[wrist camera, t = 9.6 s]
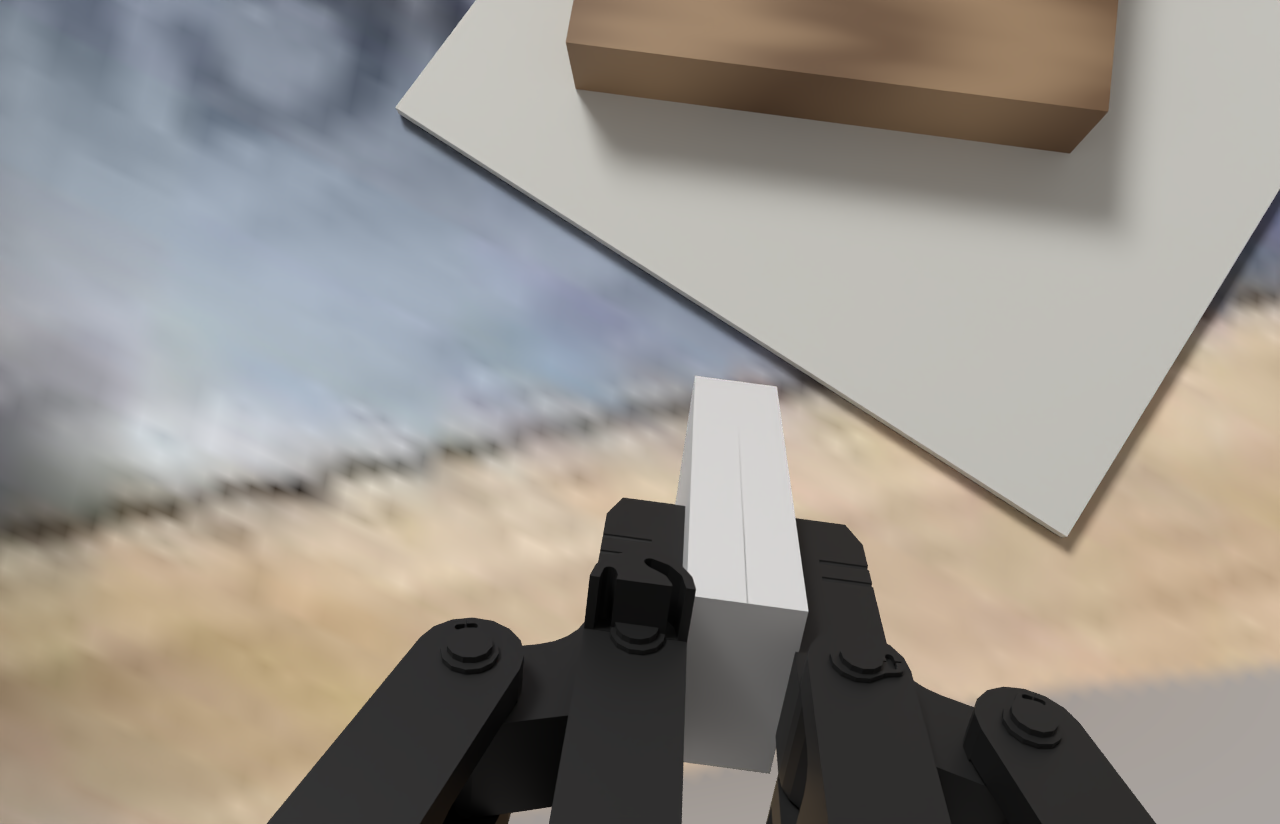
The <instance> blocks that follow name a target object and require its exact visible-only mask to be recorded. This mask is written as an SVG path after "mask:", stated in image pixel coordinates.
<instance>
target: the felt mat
mask: <svg viewBox="0 0 1280 824" xmlns="http://www.w3.org/2000/svg"><path fill="white" fill-rule="evenodd" d="M572 5H573V0H476V1H475V2H474V4H473V5H472V6H471V8H470V9H469V10H468V12H467V13H466V14H465V16H464V17H463V18H462V20H461V21H460V22H459V24H458V25H457V26H456V27H455V29H454V30H453V31H452V33H451V34H450V35H449V37H448V38H447V39H446V41H445V42H444V43H443V45H442V46H441V47H440V49H439V50H438V51H437V53H436V54H435V55H434V57H433V58H432V59H431V61H430V62H429V63H428V65H427V66H426V67H425V69H424V70H423V71H422V73H421V74H420V75H419V77H418V78H417V79H416V81H415V82H414V83H413V85H412V86H411V87H410V89H409V90H408V91H407V93H406V94H405V95H404V97H403V98H402V99H401V101H400V102H399V103H398V105H397V106H396V107H395V108H396V109H397V111H398V113H399V114H400V115H402V116H403V117H405V118H406V119H408V120H410V121H411V122H413V123H414V124H416V125H417V126H419V127H420V128H422V129H424V130H425V131H427V132H428V133H430V134H431V135H433V136H435V137H436V138H438V139H439V140H441V141H442V142H444V143H445V144H447V145H449V146H450V147H452V148H453V149H455V150H456V151H458V152H460V153H461V154H463V155H464V156H466V157H467V158H469V159H470V160H472V161H474V162H475V163H477V164H478V165H480V166H481V167H483V168H485V169H486V170H488V171H489V172H491V173H492V174H494V175H496V176H497V177H499V178H500V179H502V180H503V181H505V182H506V183H508V184H510V185H511V186H513V187H514V188H516V189H517V190H519V191H521V192H522V193H524V194H525V195H527V196H528V197H530V198H531V199H533V200H535V201H536V202H538V203H539V204H541V205H542V206H544V207H546V208H547V209H549V210H550V211H552V212H553V213H555V214H556V215H558V216H560V217H561V218H563V219H564V220H566V221H567V222H569V223H571V224H572V225H574V226H575V227H577V228H578V229H580V230H581V231H583V232H585V233H586V234H588V235H589V236H591V237H592V238H594V239H596V240H597V241H599V242H600V243H602V244H603V245H605V246H606V247H608V248H610V249H611V250H613V251H614V252H616V253H617V254H619V255H621V256H622V257H624V258H625V259H627V260H628V261H630V262H631V263H633V264H635V265H636V266H638V267H639V268H641V269H642V270H644V271H646V272H647V273H649V274H650V275H652V276H653V277H655V278H656V279H658V280H660V281H661V282H663V283H664V284H666V285H667V286H669V287H671V288H672V289H674V290H675V291H677V292H678V293H680V294H681V295H683V296H685V297H686V298H688V299H689V300H691V301H692V302H694V303H696V304H697V305H699V306H700V307H702V308H703V309H705V310H706V311H708V312H710V313H711V314H713V315H714V316H716V317H717V318H719V319H721V320H722V321H724V322H725V323H727V324H728V325H730V326H731V327H733V328H735V329H736V330H738V331H739V332H741V333H742V334H744V335H746V336H747V337H749V338H750V339H752V340H753V341H755V342H756V343H758V344H760V345H761V346H763V347H764V348H766V349H767V350H769V351H771V352H772V353H774V354H775V355H777V356H778V357H780V358H782V359H783V360H785V361H786V362H788V363H789V364H791V365H792V366H794V367H796V368H797V369H799V370H800V371H802V372H803V373H805V374H807V375H808V376H810V377H811V378H813V379H814V380H816V381H817V382H819V383H821V384H822V385H824V386H825V387H827V388H828V389H830V390H832V391H833V392H835V393H836V394H838V395H839V396H841V397H842V398H844V399H846V400H847V401H849V402H850V403H852V404H853V405H855V406H857V407H858V408H860V409H861V410H863V411H864V412H866V413H867V414H869V415H871V416H872V417H874V418H875V419H877V420H878V421H880V422H882V423H883V424H885V425H886V426H888V427H889V428H891V429H892V430H894V431H896V432H897V433H899V434H900V435H902V436H903V437H905V438H907V439H908V440H910V441H911V442H913V443H914V444H916V445H917V446H919V447H921V448H922V449H924V450H925V451H927V452H928V453H930V454H932V455H933V456H935V457H936V458H938V459H939V460H941V461H942V462H944V463H946V464H947V465H949V466H950V467H952V468H953V469H955V470H957V471H958V472H960V473H961V474H963V475H964V476H966V477H967V478H969V479H971V480H972V481H974V482H975V483H977V484H978V485H980V486H982V487H983V488H985V489H986V490H988V491H989V492H991V493H992V494H994V495H996V496H997V497H999V498H1000V499H1002V500H1003V501H1005V502H1007V503H1008V504H1010V505H1011V506H1013V507H1014V508H1016V509H1017V510H1019V511H1021V512H1022V513H1024V514H1025V515H1027V516H1028V517H1030V518H1032V519H1033V520H1035V521H1036V522H1038V523H1039V524H1041V525H1042V526H1044V527H1046V528H1047V529H1049V530H1050V531H1052V532H1053V533H1055V534H1057V535H1058V536H1060V537H1067V536H1068V534H1069V533H1070V531H1071V529H1072V528H1073V526H1074V525H1075V523H1076V521H1077V520H1078V518H1079V516H1080V515H1081V513H1082V511H1083V510H1084V508H1085V507H1086V505H1087V503H1088V502H1089V500H1090V498H1091V497H1092V495H1093V493H1094V492H1095V490H1096V489H1097V487H1098V485H1099V484H1100V482H1101V480H1102V479H1103V477H1104V476H1105V474H1106V472H1107V471H1108V469H1109V467H1110V466H1111V464H1112V462H1113V461H1114V459H1115V458H1116V456H1117V454H1118V453H1119V451H1120V449H1121V448H1122V446H1123V444H1124V443H1125V441H1126V440H1127V438H1128V436H1129V435H1130V433H1131V431H1132V430H1133V428H1134V426H1135V425H1136V423H1137V422H1138V420H1139V418H1140V417H1141V415H1142V413H1143V412H1144V410H1145V408H1146V407H1147V405H1148V404H1149V402H1150V400H1151V399H1152V397H1153V395H1154V394H1155V392H1156V390H1157V389H1158V387H1159V386H1160V384H1161V382H1162V381H1163V379H1164V377H1165V376H1166V374H1167V373H1168V371H1169V369H1170V368H1171V366H1172V364H1173V363H1174V361H1175V359H1176V358H1177V356H1178V355H1179V353H1180V351H1181V350H1182V348H1183V346H1184V345H1185V343H1186V341H1187V340H1188V338H1189V337H1190V335H1191V333H1192V332H1193V330H1194V328H1195V327H1196V325H1197V323H1198V322H1199V320H1200V319H1201V317H1202V315H1203V314H1204V312H1205V310H1206V309H1207V307H1208V305H1209V304H1210V302H1211V301H1212V299H1213V297H1214V296H1215V294H1216V292H1217V291H1218V289H1219V287H1220V286H1221V284H1222V283H1223V281H1224V279H1225V278H1226V276H1227V274H1228V273H1229V271H1230V270H1231V268H1232V266H1233V265H1234V263H1235V261H1236V260H1237V258H1238V256H1239V255H1240V253H1241V252H1242V250H1243V248H1244V247H1245V245H1246V243H1247V242H1248V240H1249V238H1250V237H1251V235H1252V234H1253V232H1254V230H1255V229H1256V227H1257V225H1258V224H1259V222H1260V220H1261V219H1262V217H1263V216H1264V214H1265V212H1266V211H1267V209H1268V207H1269V206H1270V204H1271V202H1272V201H1273V199H1274V198H1275V196H1276V194H1277V193H1278V191H1279V189H1280V0H1118V11H1117V22H1116V33H1115V45H1114V56H1113V67H1112V78H1111V89H1110V100H1109V111H1108V113H1107V114H1106V115H1105V116H1104V117H1103V118H1102V119H1101V120H1100V121H1099V122H1098V123H1097V125H1096V126H1095V127H1094V128H1093V129H1092V130H1091V131H1090V132H1089V133H1088V134H1087V135H1086V137H1085V138H1084V139H1083V140H1082V141H1081V142H1080V143H1079V144H1078V145H1077V146H1076V147H1075V149H1074V150H1073V151H1072V152H1071V153H1070V154H1069V153H1062V152H1054V151H1046V150H1039V149H1031V148H1023V147H1016V146H1008V145H1000V144H993V143H985V142H977V141H970V140H962V139H954V138H947V137H939V136H931V135H924V134H916V133H908V132H901V131H893V130H885V129H878V128H870V127H862V126H855V125H847V124H839V123H832V122H824V121H817V120H809V119H801V118H794V117H786V116H778V115H771V114H763V113H755V112H748V111H740V110H732V109H725V108H717V107H709V106H702V105H694V104H686V103H679V102H671V101H663V100H656V99H648V98H640V97H633V96H625V95H617V94H610V93H602V92H594V91H587V90H579V89H575V84H574V79H573V75H572V70H571V65H570V61H569V56H568V51H567V47H566V37H567V32H568V27H569V21H570V16H571V11H572Z"/></svg>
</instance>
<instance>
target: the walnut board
mask: <svg viewBox="0 0 1280 824" xmlns="http://www.w3.org/2000/svg"><path fill="white" fill-rule="evenodd" d="M1117 11H1118V0H573V5H572V11H571V16H570V21H569V27H568V32H567V37H566V47H567V51H568V56H569V61H570V65H571V70H572V75H573V79H574V84H575V89H579V90H587V91H594V92H602V93H610V94H617V95H625V96H633V97H640V98H648V99H656V100H663V101H671V102H679V103H686V104H694V105H702V106H709V107H717V108H725V109H732V110H740V111H748V112H755V113H763V114H771V115H778V116H786V117H794V118H801V119H809V120H817V121H824V122H832V123H839V124H847V125H855V126H862V127H870V128H878V129H885V130H893V131H901V132H908V133H916V134H924V135H931V136H939V137H947V138H954V139H962V140H970V141H977V142H985V143H993V144H1000V145H1008V146H1016V147H1023V148H1031V149H1039V150H1046V151H1054V152H1062V153H1069V154H1070V153H1071V152H1072V151H1073V150H1074V149H1075V147H1076V146H1077V145H1078V144H1079V143H1080V142H1081V141H1082V140H1083V139H1084V138H1085V137H1086V135H1087V134H1088V133H1089V132H1090V131H1091V130H1092V129H1093V128H1094V127H1095V126H1096V125H1097V123H1098V122H1099V121H1100V120H1101V119H1102V118H1103V117H1104V116H1105V115H1106V114H1107V113H1108V111H1109V100H1110V89H1111V78H1112V67H1113V56H1114V45H1115V33H1116V22H1117Z"/></svg>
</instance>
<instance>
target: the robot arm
mask: <svg viewBox="0 0 1280 824" xmlns="http://www.w3.org/2000/svg"><path fill="white" fill-rule="evenodd" d="M867 568H868V565H867V561H866V557H865V553H864V549H863V545H862V544H861V543H860V542H859V540H858V539H857V538H856V537H855V536H854V535H853V533H852V532H851V531H850V530H849V529H848V528H847V527H846V525H842V524H834V523H827V522H819V521H812V520H804V519H797V518H795V513H794V506H793V498H792V491H791V484H790V477H789V470H788V463H787V456H786V449H785V442H784V435H783V428H782V420H781V413H780V406H779V399H778V392H777V387H776V386H768V385H761V384H753V383H745V382H738V381H730V380H723V379H715V378H707V377H700V376H695V379H694V386H693V392H692V399H691V405H690V412H689V418H688V425H687V431H686V438H685V444H684V451H683V457H682V464H681V470H680V477H679V484H678V490H677V497H676V503H675V504H667V503H660V502H652V501H645V500H637V499H630V498H622V499H621V500H620V501H619V502H618V503H617V504H616V505H615V506H614V507H613V508H612V509H611V510H610V511H609V512H608V513H607V516H606V522H605V527H604V533H603V538H602V544H601V550H600V555H599V561H598V563H597V564H596V565H595V567H594V569H593V571H592V572H591V574H590V579H589V588H588V597H587V606H586V615H585V622H584V623H583V624H582V625H581V627H580V628H579V629H578V630H576V631H575V632H573V633H572V634H570V635H569V636H567V637H564V638H562V639H559V640H556V641H553V642H548V643H543V644H536V645H526V646H522V644H521V640H520V639H519V638H518V637H517V636H516V635H515V634H514V633H513V632H512V631H511V630H510V629H509V628H507V627H505V626H502V625H500V624H498V623H496V622H494V621H490V620H484V619H478V618H464V619H453V620H450V621H447V622H444V623H442V624H439V625H436V626H434V627H432V628H431V629H430V630H429V631H427V632H426V633H425V634H424V635H422V636H421V637H420V638H419V639H418V641H417V642H416V643H415V644H414V645H413V647H412V648H411V649H410V650H409V652H408V653H407V654H406V655H405V656H404V658H403V659H402V660H401V661H400V662H399V664H398V665H397V666H396V667H395V669H394V670H393V671H392V672H391V673H390V675H389V676H388V677H387V678H386V679H385V681H384V682H383V683H382V684H381V686H380V687H379V688H378V689H377V690H376V692H375V693H374V694H373V695H372V696H371V698H370V699H369V700H368V701H367V703H366V704H365V705H364V706H363V707H362V709H361V710H360V711H359V712H358V713H357V715H356V716H355V717H354V718H353V720H352V721H351V722H350V723H349V724H348V726H347V727H346V728H345V729H344V730H343V732H342V733H341V734H340V735H339V737H338V738H337V739H336V740H335V741H334V743H333V744H332V745H331V746H330V747H329V749H328V750H327V751H326V752H325V754H324V755H323V756H322V757H321V758H320V760H319V761H318V762H317V763H316V764H315V766H314V767H313V768H312V769H311V771H310V772H309V773H308V774H307V775H306V777H305V778H304V779H303V780H302V781H301V783H300V784H299V785H298V786H297V788H296V789H295V790H294V791H293V792H292V794H291V795H290V796H289V797H288V798H287V800H286V801H285V802H284V803H283V805H282V806H281V807H280V808H279V809H278V811H277V812H276V813H275V814H274V815H273V817H272V818H271V819H270V820H269V822H268V823H267V824H508V822H509V818H510V814H511V813H513V812H520V811H527V810H533V809H540V808H547V807H552V810H551V815H550V821H549V824H681V823H682V791H683V762H687V763H695V764H702V765H710V766H717V767H724V768H732V769H739V770H747V771H754V772H761V773H770V771H771V766H772V762H773V758H774V754H775V750H777V762H778V777H777V781H776V785H775V789H774V794H773V798H772V802H771V806H770V810H769V814H768V818H767V822H766V824H1156V823H1155V822H1154V820H1153V819H1152V818H1151V816H1150V815H1149V814H1148V812H1147V811H1146V810H1145V808H1144V807H1143V806H1142V805H1141V803H1140V802H1139V801H1138V799H1137V798H1136V797H1135V795H1134V794H1133V793H1132V791H1131V790H1130V789H1129V787H1128V786H1127V785H1126V783H1125V782H1124V781H1123V779H1122V778H1121V777H1120V776H1119V775H1118V773H1117V772H1116V770H1115V769H1114V768H1113V766H1112V765H1111V764H1110V762H1109V761H1108V760H1107V758H1106V757H1105V756H1104V754H1103V753H1102V752H1101V751H1100V749H1099V748H1098V747H1097V745H1096V744H1095V743H1094V742H1093V740H1092V739H1091V737H1090V736H1089V735H1088V734H1087V732H1086V731H1085V730H1084V728H1083V727H1082V726H1081V724H1080V723H1079V722H1078V721H1077V720H1076V719H1075V718H1074V717H1073V716H1072V715H1071V714H1070V713H1069V712H1068V711H1067V710H1066V709H1065V708H1063V707H1062V706H1060V705H1058V704H1057V703H1055V702H1053V701H1052V700H1050V699H1049V698H1047V697H1045V696H1043V695H1040V694H1037V693H1034V692H1031V691H1028V690H1026V689H1020V688H1011V687H1000V688H995V689H991V690H987V691H986V692H985V693H984V694H982V695H981V696H980V697H979V698H978V699H977V701H976V704H975V706H974V707H972V706H969V705H966V704H963V703H961V702H958V701H955V700H952V699H950V698H947V697H944V696H941V695H939V694H937V693H935V692H932V691H930V690H928V689H926V688H924V687H923V686H921V685H919V684H918V683H916V682H915V681H913V677H912V673H911V670H910V669H909V667H908V665H907V663H906V661H905V659H904V658H903V657H902V656H901V655H900V654H899V653H898V652H897V651H896V650H895V649H893V648H892V647H891V646H890V645H888V644H887V643H886V639H885V635H884V631H883V627H882V622H881V618H880V614H879V610H878V606H877V602H876V598H875V594H874V590H873V587H872V581H871V577H870V573H869V570H867Z"/></svg>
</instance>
